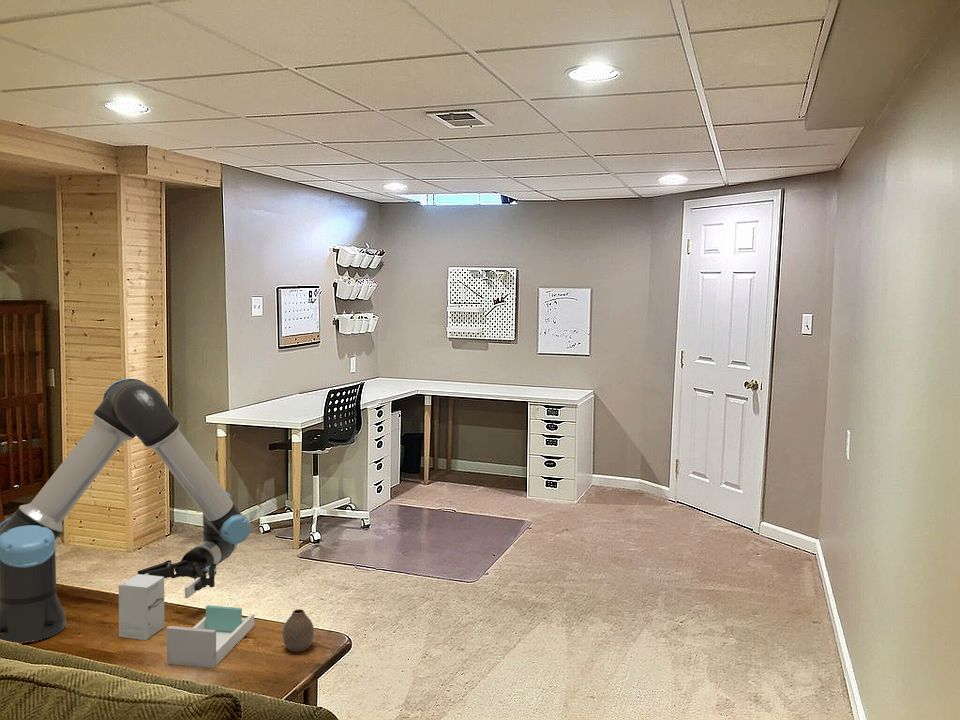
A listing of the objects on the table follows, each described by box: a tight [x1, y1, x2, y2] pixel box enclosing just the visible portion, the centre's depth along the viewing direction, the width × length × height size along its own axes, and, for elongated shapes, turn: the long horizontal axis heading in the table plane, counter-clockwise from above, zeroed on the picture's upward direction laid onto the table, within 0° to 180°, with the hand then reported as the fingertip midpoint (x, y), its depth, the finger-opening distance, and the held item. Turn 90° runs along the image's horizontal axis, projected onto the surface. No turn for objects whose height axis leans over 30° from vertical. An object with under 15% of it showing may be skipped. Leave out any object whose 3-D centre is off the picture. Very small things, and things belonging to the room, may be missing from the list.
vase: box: [282, 608, 315, 653], centre depth 179 cm, size 7×7×9 cm
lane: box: [166, 613, 255, 669], centre depth 180 cm, size 21×11×8 cm, turn 173°
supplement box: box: [118, 573, 165, 641], centre depth 184 cm, size 7×7×13 cm
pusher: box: [205, 604, 243, 632], centre depth 185 cm, size 1×8×6 cm, turn 83°
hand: (159, 590), depth 191 cm, fingers open, 13 cm apart
